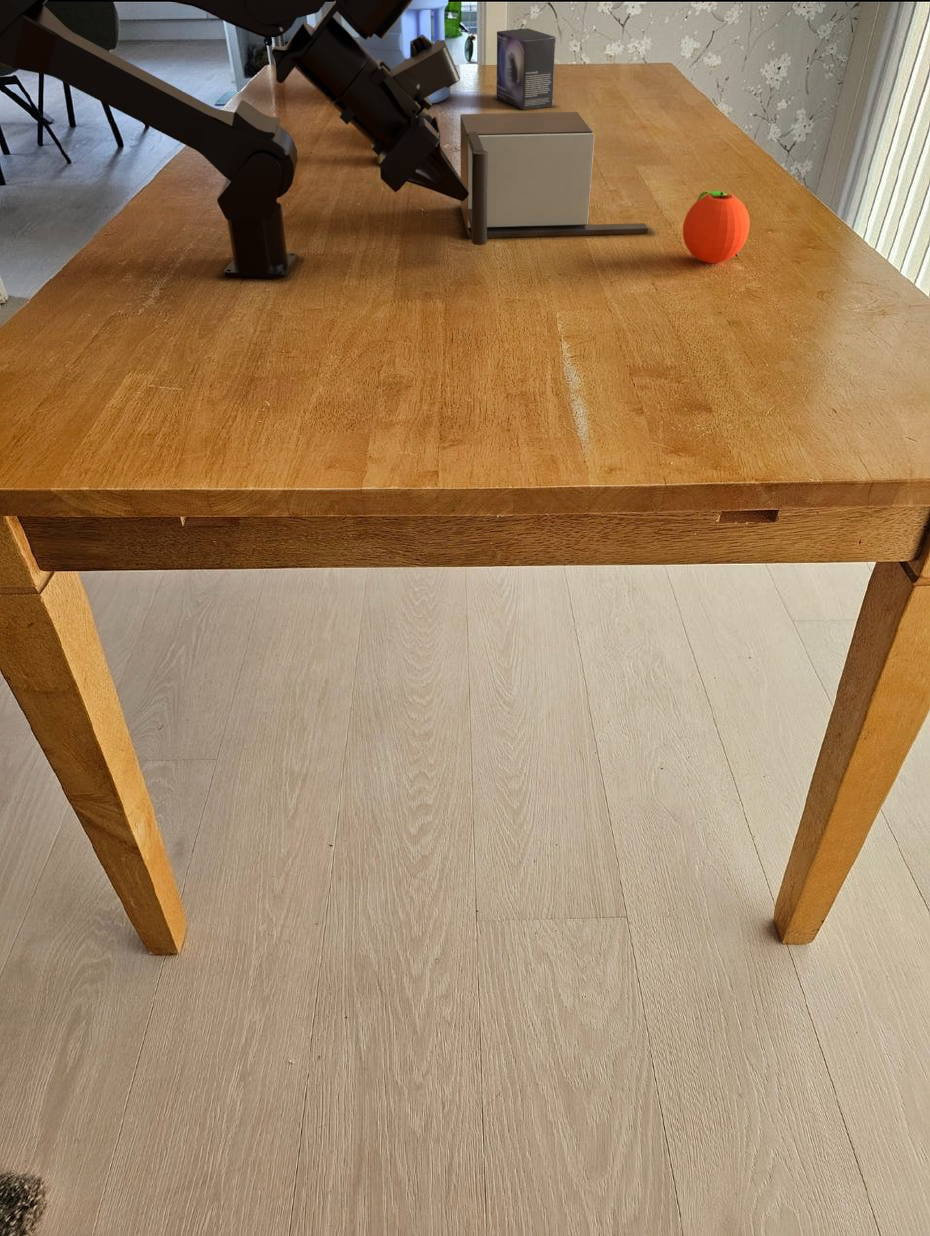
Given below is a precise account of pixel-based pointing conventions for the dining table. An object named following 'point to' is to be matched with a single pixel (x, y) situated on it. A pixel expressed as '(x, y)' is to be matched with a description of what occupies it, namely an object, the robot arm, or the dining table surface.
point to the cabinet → (531, 125)
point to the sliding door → (528, 180)
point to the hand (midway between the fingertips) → (465, 197)
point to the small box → (525, 68)
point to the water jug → (410, 36)
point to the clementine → (716, 227)
